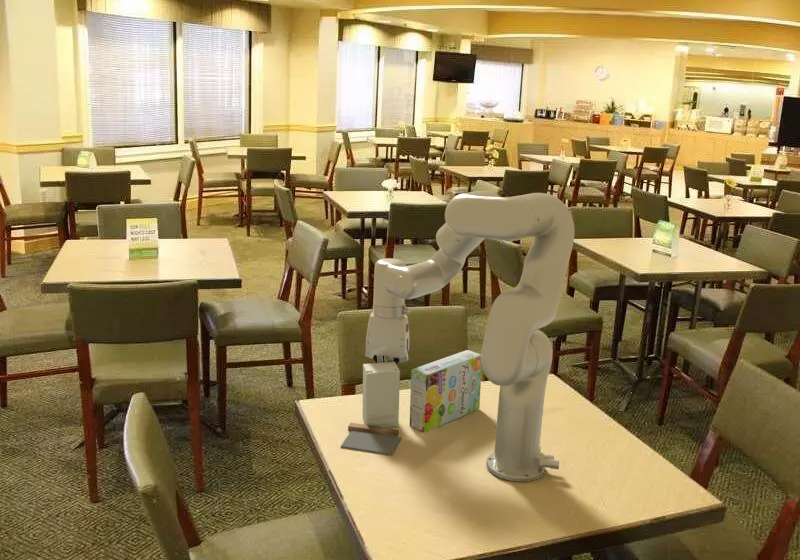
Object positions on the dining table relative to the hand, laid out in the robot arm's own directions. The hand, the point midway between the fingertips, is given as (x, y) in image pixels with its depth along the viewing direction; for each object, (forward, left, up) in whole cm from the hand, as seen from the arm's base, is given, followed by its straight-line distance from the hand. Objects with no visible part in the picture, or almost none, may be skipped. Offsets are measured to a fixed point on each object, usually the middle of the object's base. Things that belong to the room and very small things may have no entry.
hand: (385, 381), depth 185 cm
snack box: (-15, -4, -9) cm, 18 cm away
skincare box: (0, +5, -9) cm, 10 cm away
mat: (-1, +15, -9) cm, 18 cm away
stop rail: (0, +10, -9) cm, 14 cm away
